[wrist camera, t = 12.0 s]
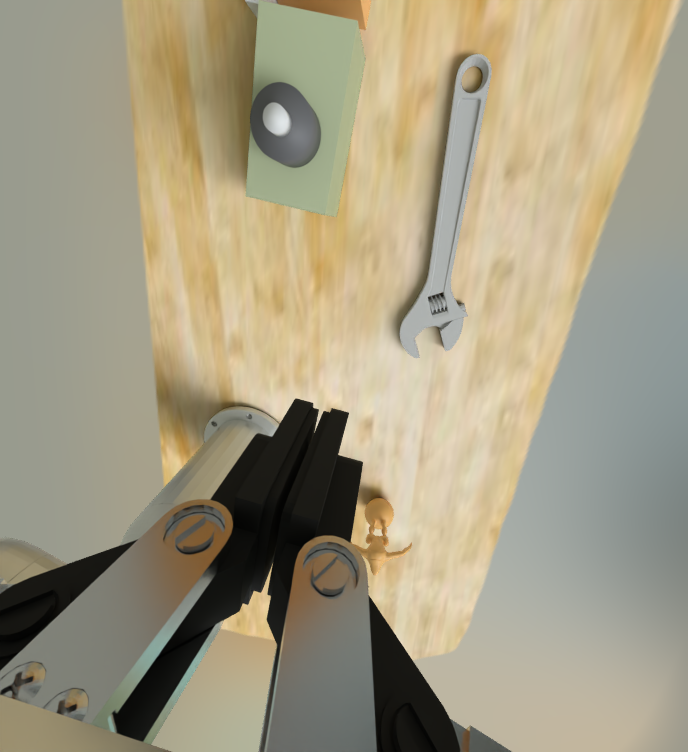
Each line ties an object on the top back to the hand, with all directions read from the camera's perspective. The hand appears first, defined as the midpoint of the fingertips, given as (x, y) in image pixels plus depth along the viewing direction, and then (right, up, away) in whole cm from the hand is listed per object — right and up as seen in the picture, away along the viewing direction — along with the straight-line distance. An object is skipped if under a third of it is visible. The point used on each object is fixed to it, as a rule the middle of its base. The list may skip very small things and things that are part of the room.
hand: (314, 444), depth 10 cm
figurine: (+6, -15, +36) cm, 40 cm away
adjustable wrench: (+11, +16, +22) cm, 29 cm away
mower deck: (-1, +27, +18) cm, 33 cm away
